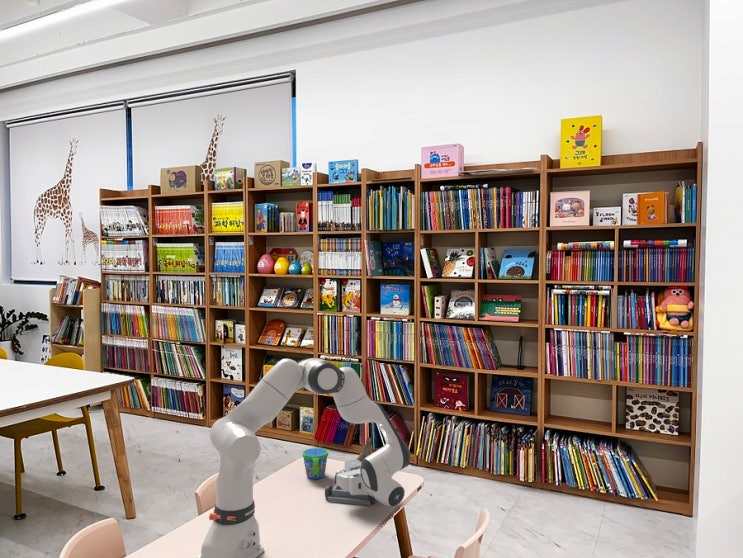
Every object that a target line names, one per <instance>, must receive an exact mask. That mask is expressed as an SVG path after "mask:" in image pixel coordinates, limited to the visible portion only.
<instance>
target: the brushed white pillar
mask: <svg viewBox="0 0 743 558" xmlns="http://www.w3.org/2000/svg"><path fill="white" fill-rule="evenodd" d="M361 463H362V462H360V461H359V460H357V458H353V459H349V460H346V461H344V470H346V472H348V471H352V470H356V469H360V468H361Z"/></svg>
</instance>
